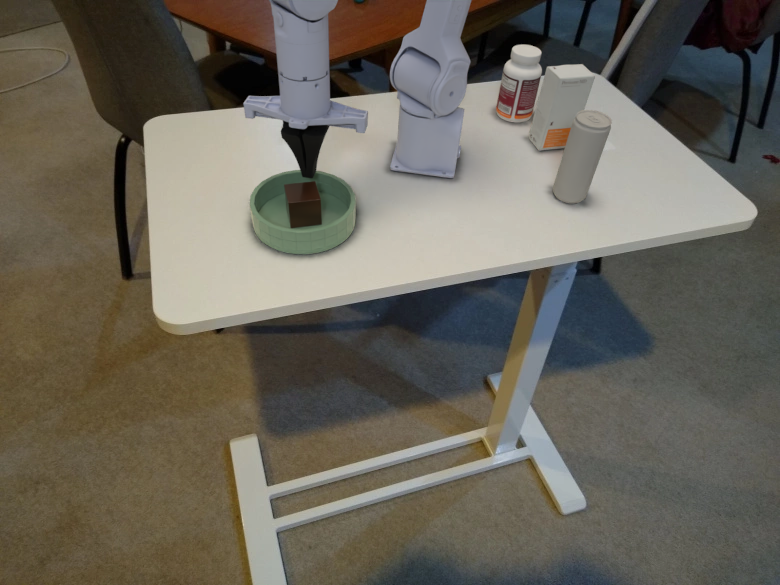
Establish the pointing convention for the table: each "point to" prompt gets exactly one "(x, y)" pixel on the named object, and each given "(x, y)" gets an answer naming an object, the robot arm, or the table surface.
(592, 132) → the beverage can
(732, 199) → the table surface
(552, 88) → the cosmetic box
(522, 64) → the pill bottle
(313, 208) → the block
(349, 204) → the bowl
